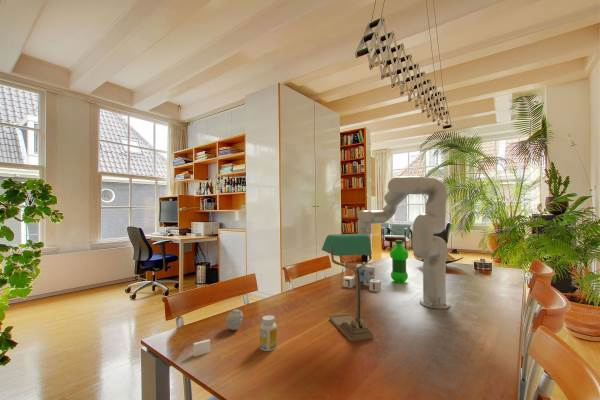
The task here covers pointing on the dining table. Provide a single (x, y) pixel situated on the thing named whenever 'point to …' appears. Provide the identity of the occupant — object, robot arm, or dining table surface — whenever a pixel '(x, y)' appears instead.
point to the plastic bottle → (399, 262)
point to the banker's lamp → (355, 246)
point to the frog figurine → (234, 319)
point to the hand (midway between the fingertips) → (364, 262)
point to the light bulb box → (366, 273)
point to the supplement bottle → (268, 333)
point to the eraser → (201, 347)
